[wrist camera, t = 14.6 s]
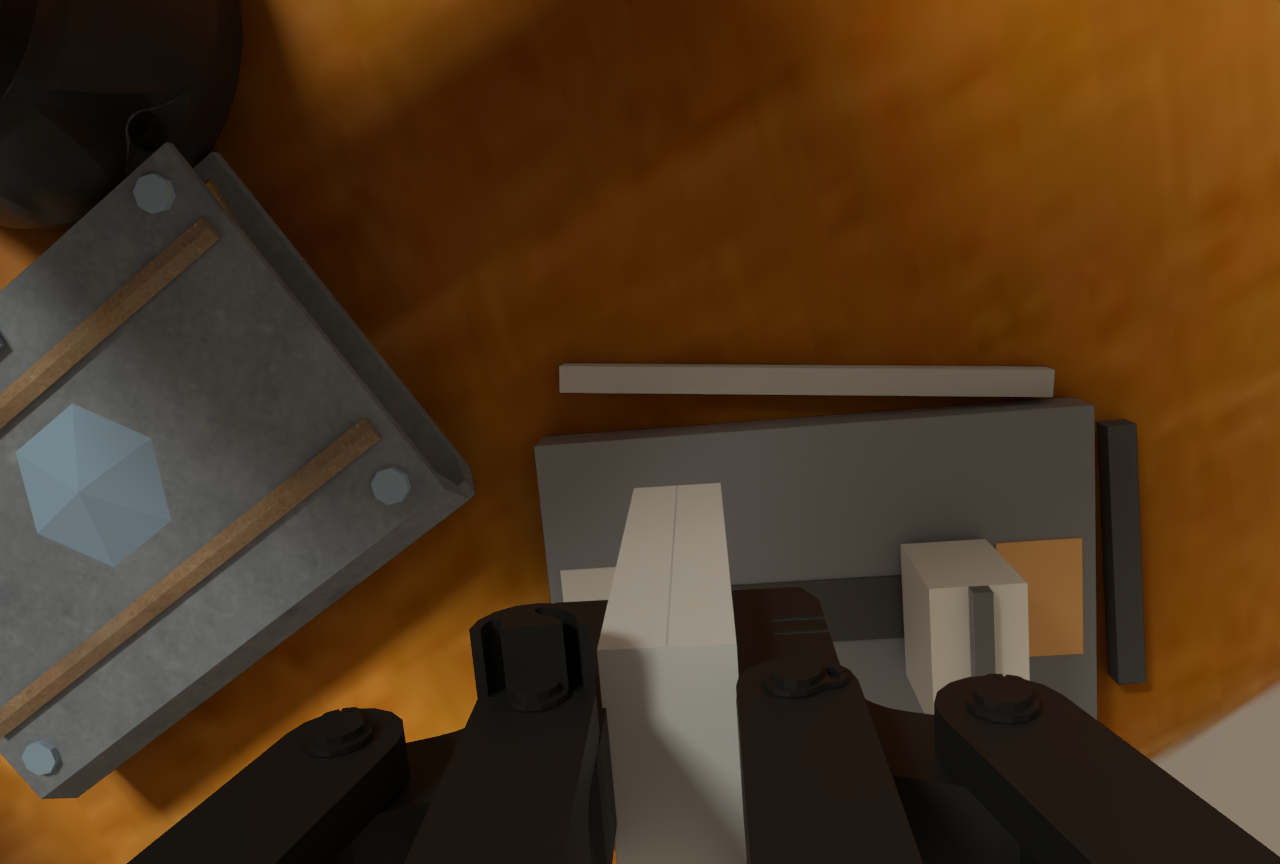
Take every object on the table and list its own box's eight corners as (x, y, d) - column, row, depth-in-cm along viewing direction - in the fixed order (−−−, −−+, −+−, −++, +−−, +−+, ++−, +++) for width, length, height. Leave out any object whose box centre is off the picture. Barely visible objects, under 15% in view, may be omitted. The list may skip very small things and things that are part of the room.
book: (119, 762, 43) (41, 828, 38) (-142, 465, 41) (-258, 494, 36) (487, 482, 39) (454, 514, 34) (218, 145, 37) (143, 128, 33)
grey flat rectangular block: (578, 768, 40) (571, 795, 38) (543, 436, 38) (533, 447, 36) (1077, 746, 39) (1098, 773, 37) (1073, 396, 36) (1095, 405, 34)
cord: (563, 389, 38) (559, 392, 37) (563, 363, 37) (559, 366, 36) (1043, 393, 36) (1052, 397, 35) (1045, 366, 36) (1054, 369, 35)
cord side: (1108, 673, 38) (1118, 684, 37) (1097, 422, 36) (1107, 427, 35) (1135, 671, 38) (1146, 682, 37) (1124, 419, 36) (1136, 423, 35)
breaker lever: (906, 674, 36) (938, 746, 31) (900, 544, 35) (933, 595, 30) (989, 669, 36) (1036, 741, 31) (985, 539, 35) (1033, 589, 30)
